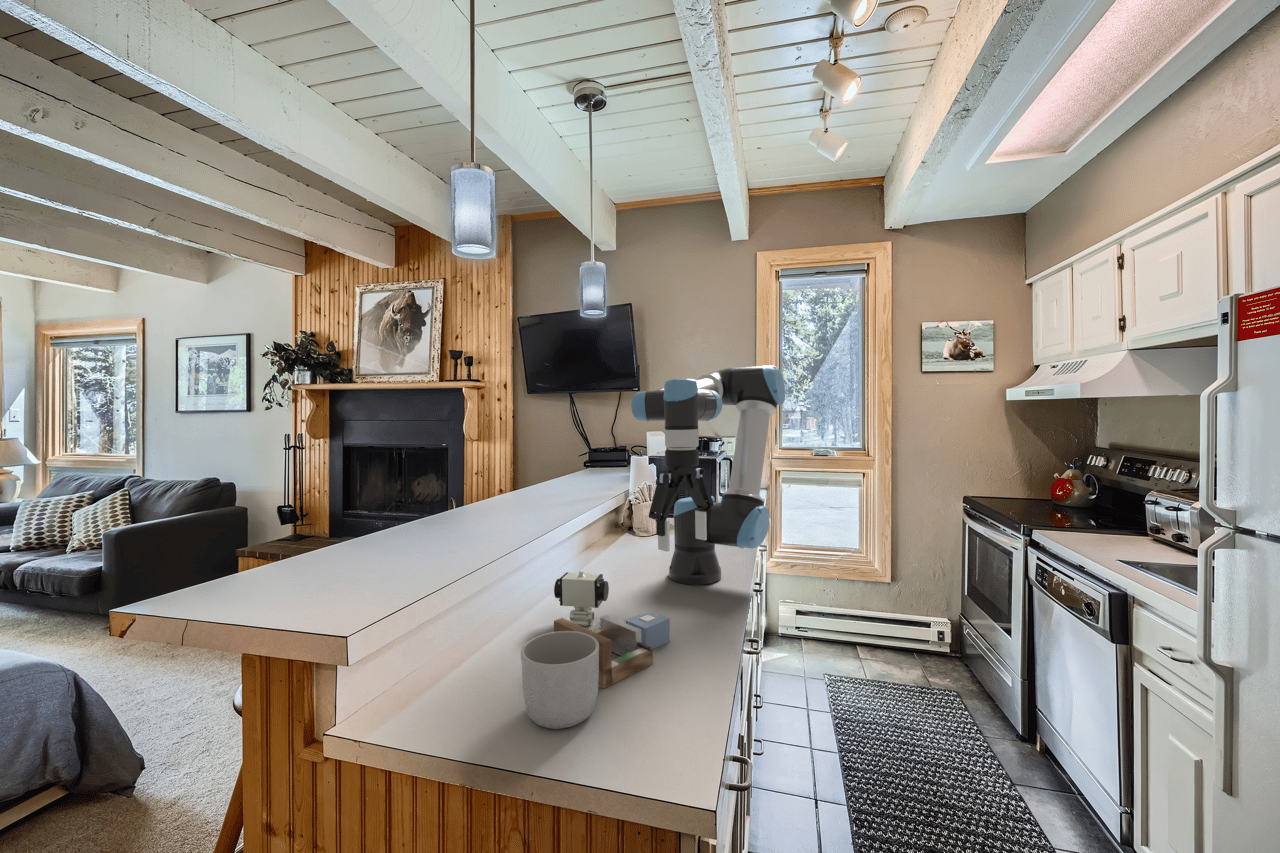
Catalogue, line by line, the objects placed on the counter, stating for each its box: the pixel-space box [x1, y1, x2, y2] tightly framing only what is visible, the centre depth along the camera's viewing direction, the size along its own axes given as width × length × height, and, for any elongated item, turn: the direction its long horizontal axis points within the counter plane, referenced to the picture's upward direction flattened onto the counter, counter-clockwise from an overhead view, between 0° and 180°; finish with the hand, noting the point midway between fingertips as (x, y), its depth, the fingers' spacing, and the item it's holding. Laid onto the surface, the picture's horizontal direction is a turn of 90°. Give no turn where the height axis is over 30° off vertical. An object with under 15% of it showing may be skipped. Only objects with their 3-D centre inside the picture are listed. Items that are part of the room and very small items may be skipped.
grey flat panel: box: [599, 614, 651, 657], centre depth 103 cm, size 2×13×6 cm, turn 45°
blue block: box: [625, 610, 671, 650], centre depth 109 cm, size 7×6×5 cm
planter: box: [520, 631, 599, 730], centre depth 84 cm, size 12×12×11 cm
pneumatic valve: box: [553, 570, 610, 627], centre depth 120 cm, size 6×12×12 cm, turn 78°
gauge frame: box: [553, 617, 654, 689], centre depth 101 cm, size 12×15×8 cm
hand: (683, 544), depth 117 cm, fingers open, 12 cm apart
